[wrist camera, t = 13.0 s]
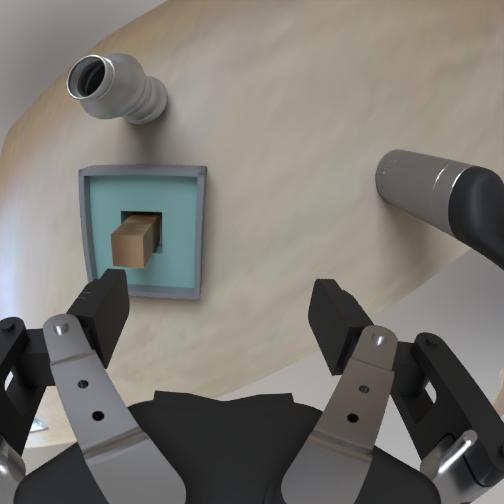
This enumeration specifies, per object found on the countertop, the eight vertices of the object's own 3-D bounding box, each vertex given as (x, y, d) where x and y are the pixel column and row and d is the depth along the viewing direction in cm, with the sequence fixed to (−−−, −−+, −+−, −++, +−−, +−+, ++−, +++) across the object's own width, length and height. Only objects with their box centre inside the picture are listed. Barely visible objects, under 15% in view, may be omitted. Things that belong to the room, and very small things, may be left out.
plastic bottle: (117, 111, 34) (38, 99, 15) (144, 71, 32) (84, 26, 14) (151, 133, 36) (91, 134, 17) (180, 93, 34) (143, 56, 16)
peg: (159, 213, 40) (142, 236, 31) (159, 239, 42) (143, 268, 33) (133, 212, 40) (110, 234, 31) (134, 237, 41) (113, 266, 32)
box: (206, 166, 39) (204, 170, 34) (201, 283, 45) (199, 300, 41) (93, 165, 36) (78, 169, 32) (100, 276, 43) (90, 291, 38)
